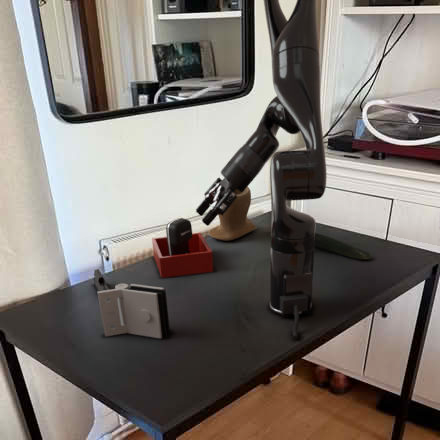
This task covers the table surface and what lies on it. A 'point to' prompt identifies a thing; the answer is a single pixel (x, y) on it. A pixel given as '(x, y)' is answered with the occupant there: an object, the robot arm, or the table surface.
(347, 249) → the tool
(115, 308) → the hinge
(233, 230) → the stone cup
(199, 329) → the table surface
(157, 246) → the open red box
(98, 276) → the lighting fixture
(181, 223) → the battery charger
